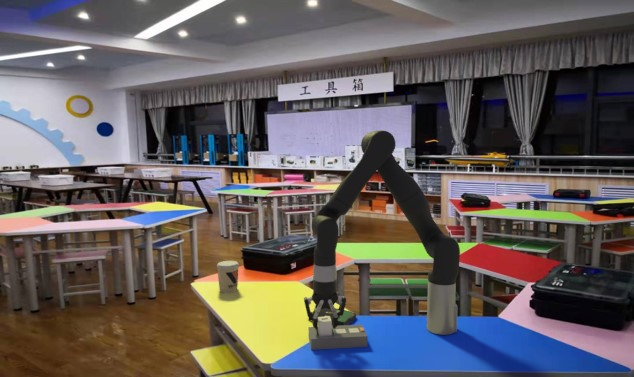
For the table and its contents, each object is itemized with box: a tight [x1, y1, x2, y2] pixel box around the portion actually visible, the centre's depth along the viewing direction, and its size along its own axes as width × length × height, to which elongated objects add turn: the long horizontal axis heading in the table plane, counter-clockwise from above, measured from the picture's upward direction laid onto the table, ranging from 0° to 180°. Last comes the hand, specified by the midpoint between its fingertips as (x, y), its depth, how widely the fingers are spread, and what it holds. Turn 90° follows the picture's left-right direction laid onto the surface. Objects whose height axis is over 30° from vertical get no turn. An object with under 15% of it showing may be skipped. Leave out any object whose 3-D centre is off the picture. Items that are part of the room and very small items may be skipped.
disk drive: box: [308, 307, 357, 326], centre depth 162 cm, size 10×3×15 cm
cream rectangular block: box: [318, 316, 333, 336], centre depth 143 cm, size 4×4×8 cm
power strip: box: [308, 324, 368, 351], centre depth 143 cm, size 18×9×4 cm, turn 96°
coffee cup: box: [216, 260, 240, 293], centre depth 194 cm, size 9×9×12 cm
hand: (325, 327), depth 143 cm, fingers open, 5 cm apart
